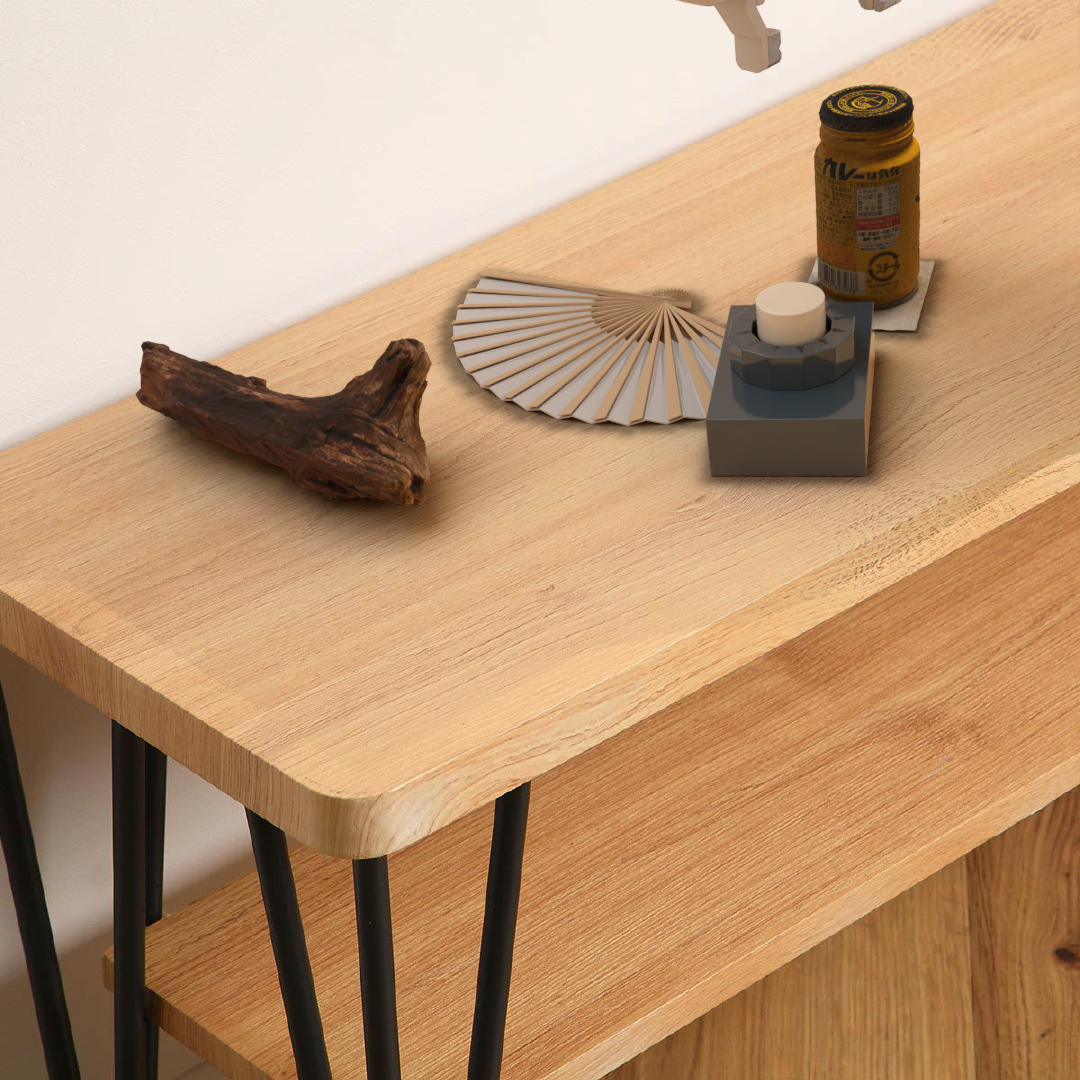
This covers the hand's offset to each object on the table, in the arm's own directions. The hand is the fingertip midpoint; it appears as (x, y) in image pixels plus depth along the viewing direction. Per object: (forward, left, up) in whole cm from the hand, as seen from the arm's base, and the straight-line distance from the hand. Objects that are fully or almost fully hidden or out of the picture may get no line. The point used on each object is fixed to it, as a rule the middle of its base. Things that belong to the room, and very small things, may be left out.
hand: (821, 36), depth 83 cm
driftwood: (+29, +11, -19) cm, 36 cm away
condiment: (-2, -6, -19) cm, 20 cm away
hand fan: (+13, 0, -19) cm, 23 cm away
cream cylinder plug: (+1, +7, -13) cm, 15 cm away
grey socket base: (+2, +7, -18) cm, 20 cm away
